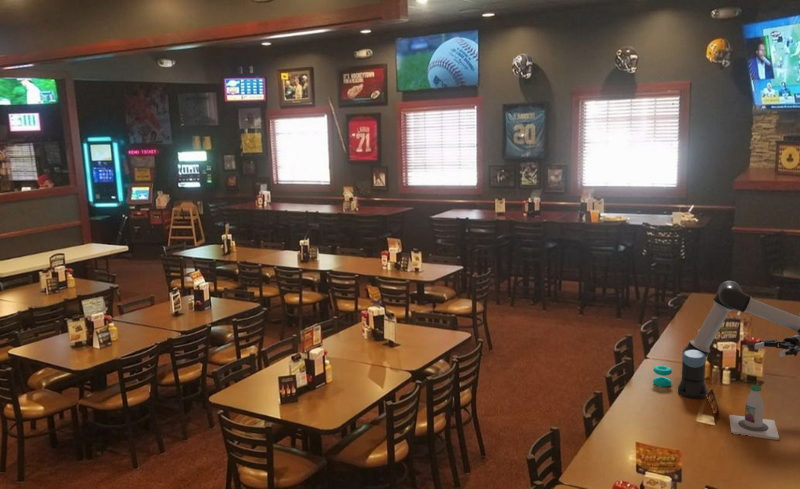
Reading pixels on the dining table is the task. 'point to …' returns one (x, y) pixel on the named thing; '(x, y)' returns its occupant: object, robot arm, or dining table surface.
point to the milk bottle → (754, 408)
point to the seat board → (765, 431)
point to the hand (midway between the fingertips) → (767, 350)
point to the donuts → (663, 371)
